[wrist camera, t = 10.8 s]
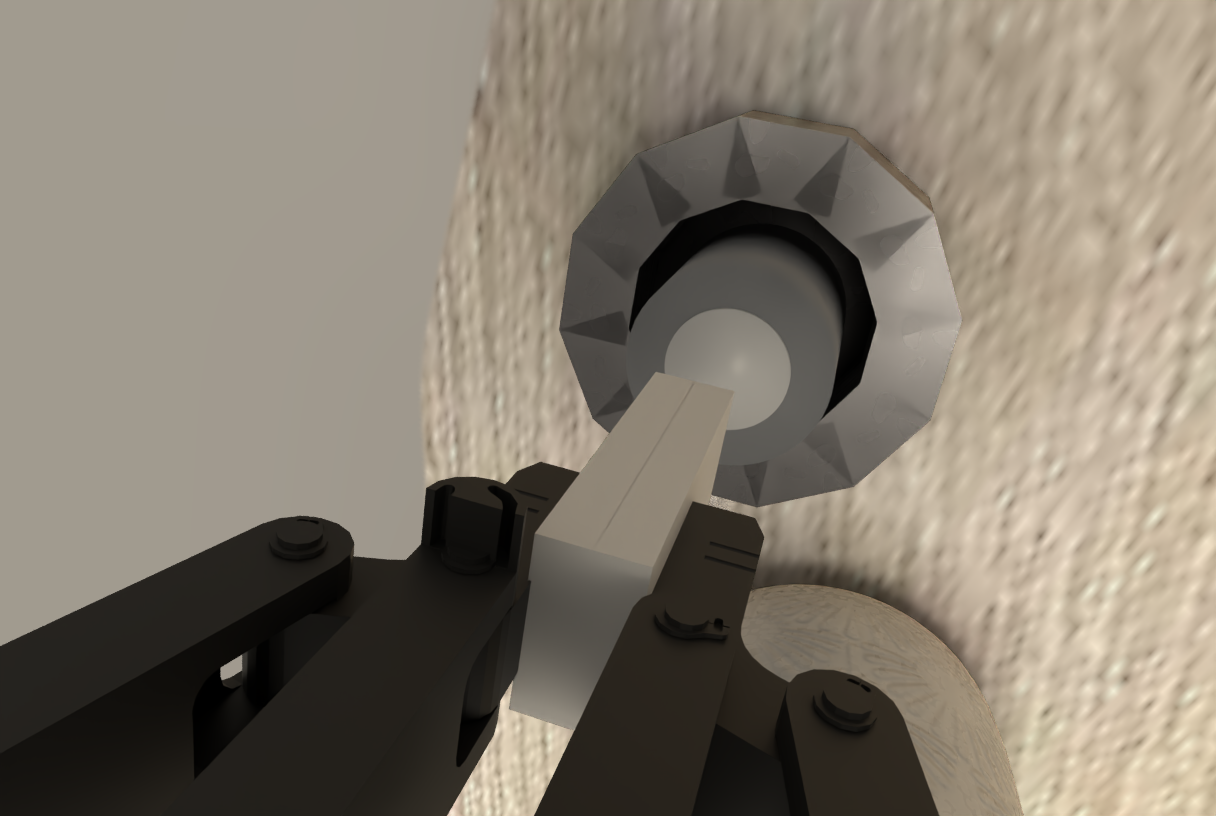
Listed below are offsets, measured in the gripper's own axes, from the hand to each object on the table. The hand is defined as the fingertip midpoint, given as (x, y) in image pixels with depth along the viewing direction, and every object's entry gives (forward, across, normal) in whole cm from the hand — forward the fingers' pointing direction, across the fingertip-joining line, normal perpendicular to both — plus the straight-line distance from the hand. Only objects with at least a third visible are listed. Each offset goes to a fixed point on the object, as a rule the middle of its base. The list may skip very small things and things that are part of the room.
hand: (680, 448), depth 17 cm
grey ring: (+12, 0, 0) cm, 12 cm away
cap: (+11, 0, 0) cm, 11 cm away
